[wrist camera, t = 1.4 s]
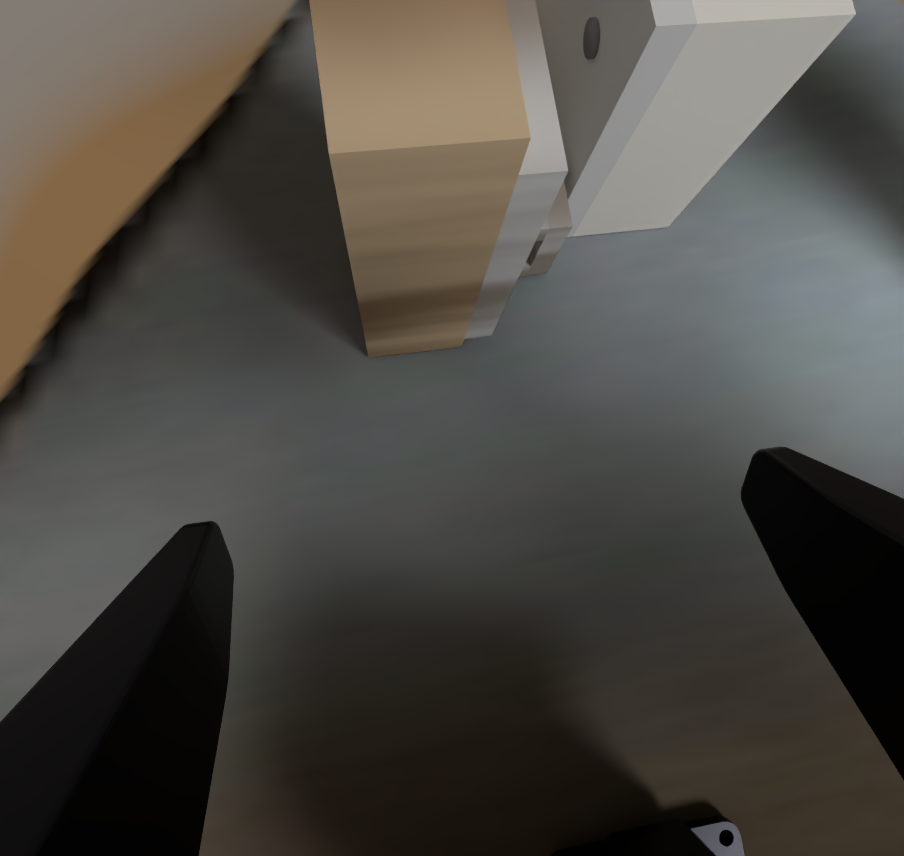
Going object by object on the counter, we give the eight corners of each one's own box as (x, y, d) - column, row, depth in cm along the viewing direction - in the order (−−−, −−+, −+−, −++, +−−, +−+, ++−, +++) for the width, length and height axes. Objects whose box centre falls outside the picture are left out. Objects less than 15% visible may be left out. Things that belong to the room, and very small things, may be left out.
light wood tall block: (556, 335, 22) (728, 122, 11) (368, 357, 22) (329, 154, 10) (534, 215, 23) (672, -109, 11) (352, 232, 22) (297, -96, 11)
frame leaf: (670, 238, 24) (861, 32, 14) (450, 260, 23) (488, 56, 13) (626, 41, 25) (772, -273, 15) (418, 54, 24) (429, -273, 14)
